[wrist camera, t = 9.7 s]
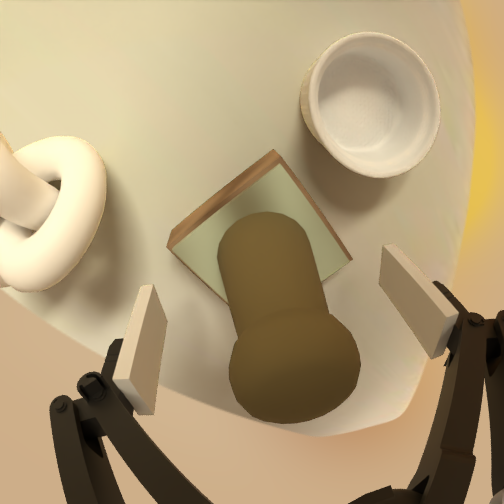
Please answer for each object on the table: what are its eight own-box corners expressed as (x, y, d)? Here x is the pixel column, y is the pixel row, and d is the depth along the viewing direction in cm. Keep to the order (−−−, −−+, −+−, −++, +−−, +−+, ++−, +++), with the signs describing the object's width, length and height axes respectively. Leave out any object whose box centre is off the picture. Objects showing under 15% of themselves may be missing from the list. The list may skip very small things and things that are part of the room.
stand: (273, 149, 19) (282, 157, 17) (340, 242, 23) (355, 262, 20) (171, 230, 21) (165, 249, 19) (249, 305, 25) (253, 330, 22)
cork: (288, 302, 21) (331, 440, 12) (205, 282, 20) (201, 434, 10) (325, 227, 19) (412, 355, 9) (234, 198, 17) (253, 334, 8)
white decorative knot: (124, 95, 16) (57, 97, 8) (132, 258, 22) (97, 341, 14) (-2, 118, 15) (-83, 144, 7) (19, 255, 21) (-35, 319, 13)
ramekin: (265, 73, 17) (278, 66, 13) (373, 26, 15) (405, 15, 11) (328, 184, 21) (352, 204, 17) (421, 132, 19) (456, 143, 16)
